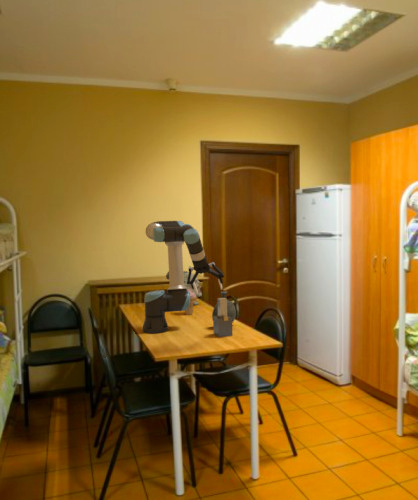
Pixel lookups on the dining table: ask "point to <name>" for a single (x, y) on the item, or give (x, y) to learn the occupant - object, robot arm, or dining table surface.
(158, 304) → the robot arm
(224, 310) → the column
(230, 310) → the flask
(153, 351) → the dining table surface
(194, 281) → the sculpture
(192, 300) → the ice cream cone
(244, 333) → the dining table surface
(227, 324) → the stand base
